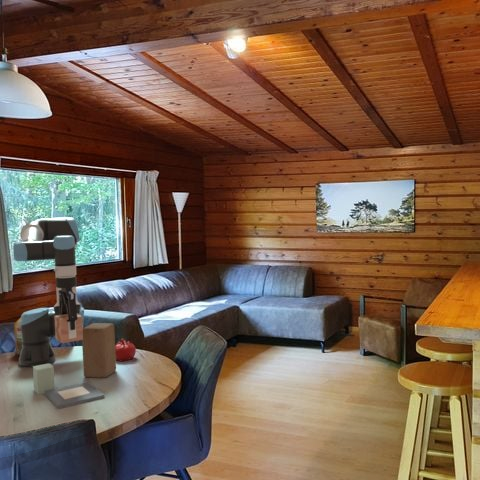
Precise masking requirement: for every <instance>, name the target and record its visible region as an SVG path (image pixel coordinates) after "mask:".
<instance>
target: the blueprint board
mask: <svg viewBox="0 0 480 480" xmlns="http://www.w3.org/2000/svg"><path fill="white" fill-rule="evenodd" d="M43 394H44V396H46V397H47V398H48V399H49V401H50V402H52V403H51V404H53V405H54V406H55V407H56V409H58V410H59V409H62V408H67V407H71V406H75V405H79V404H83V403H87V402H88V403H89V402H91V401H92V402H93V401H96V400H101V399H105V398H104V397H105V394H104V393H103V392H101V390H99V388H96V387H95V385H93V384H92V383H90V382H88V381H85V382H80V383H76V384H70V385H67V386H61V387H59V388H58V387H57V388H55V389H52V390H48V391H44V393H43ZM100 398H101V399H100Z"/></svg>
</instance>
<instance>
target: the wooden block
mask: <svg viewBox="0 0 480 480" xmlns="http://www.w3.org/2000/svg"><path fill="white" fill-rule="evenodd" d="M115 335H116V334H115V325H114V323H109V322H107V323H106V322H103V323H101V322H92V323H91V324H89V325H87V326H83V340H81V347H82V349H81V350H82V367H83V369H82V370H83V377H85V378H97V377H98V378H99V379H102V378H103V379H104V378H105V377H106V378H107V377H109V376H111V375H112V374H113V373H115V372H116V370H117V360H116V355H115V346H116V336H115Z"/></svg>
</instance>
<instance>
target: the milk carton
mask: <svg viewBox="0 0 480 480" xmlns="http://www.w3.org/2000/svg"><path fill="white" fill-rule="evenodd" d="M25 312H26V311H24V312H23V313H25ZM13 325H14V326H13V327H14V341H15V343H14V345H15V355H18V354H19V356H20V353H21V350H22V329H21V317H20V318H18V320H16V321H15V323H14V324H13Z"/></svg>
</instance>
